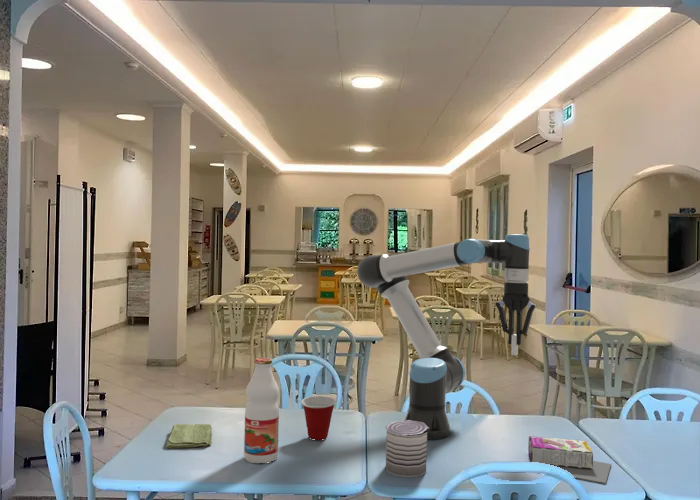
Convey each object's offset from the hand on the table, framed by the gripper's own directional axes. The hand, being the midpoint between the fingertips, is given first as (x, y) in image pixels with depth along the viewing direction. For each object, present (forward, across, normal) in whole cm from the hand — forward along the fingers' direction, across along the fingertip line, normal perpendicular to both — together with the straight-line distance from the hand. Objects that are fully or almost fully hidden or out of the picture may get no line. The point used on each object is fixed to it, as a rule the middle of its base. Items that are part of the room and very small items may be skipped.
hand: (514, 354), depth 195 cm
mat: (+26, +20, -20) cm, 39 cm away
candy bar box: (+24, +9, -19) cm, 32 cm away
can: (+27, -18, -46) cm, 56 cm away
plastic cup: (+27, -52, -36) cm, 69 cm away
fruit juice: (+27, -56, -60) cm, 86 cm away
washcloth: (+27, -84, -58) cm, 105 cm away
